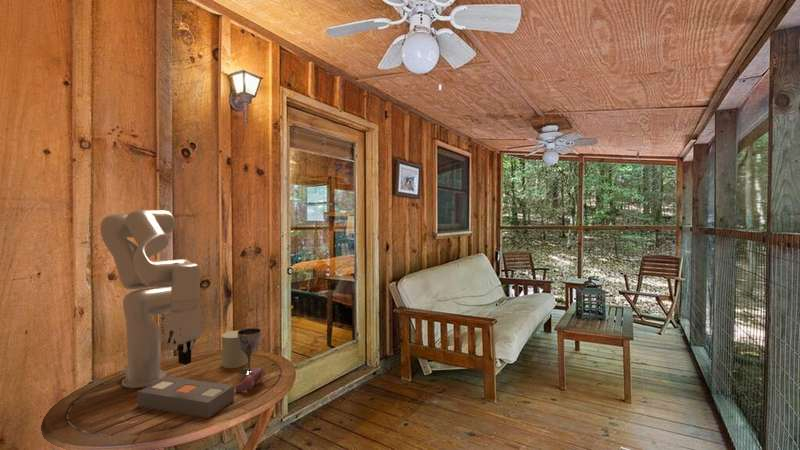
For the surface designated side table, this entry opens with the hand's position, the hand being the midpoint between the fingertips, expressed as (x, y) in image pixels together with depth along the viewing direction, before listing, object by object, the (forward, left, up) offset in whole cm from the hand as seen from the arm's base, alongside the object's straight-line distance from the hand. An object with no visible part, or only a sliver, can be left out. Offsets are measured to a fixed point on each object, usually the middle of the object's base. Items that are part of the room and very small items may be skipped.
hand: (184, 362), depth 117 cm
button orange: (+1, 0, -11) cm, 11 cm away
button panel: (+1, 0, -12) cm, 12 cm away
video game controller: (+13, +14, -13) cm, 23 cm away
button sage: (+10, 0, -11) cm, 15 cm away
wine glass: (+5, +25, -12) cm, 28 cm away
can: (-5, +30, -12) cm, 33 cm away
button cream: (-8, 0, -11) cm, 13 cm away
